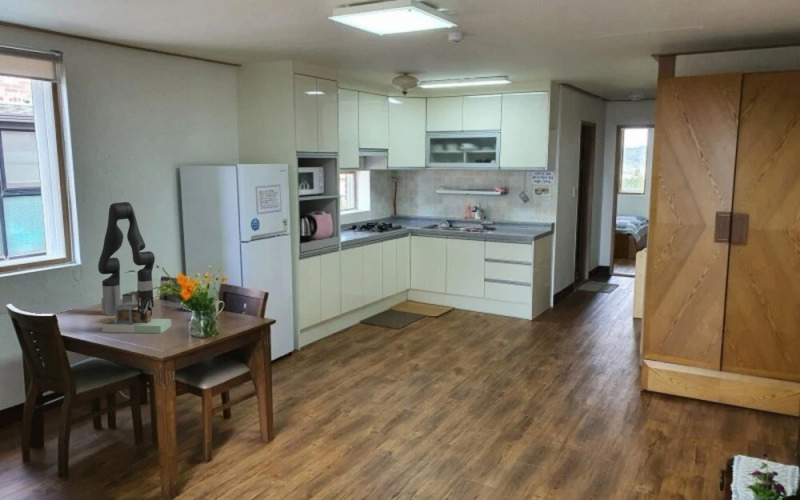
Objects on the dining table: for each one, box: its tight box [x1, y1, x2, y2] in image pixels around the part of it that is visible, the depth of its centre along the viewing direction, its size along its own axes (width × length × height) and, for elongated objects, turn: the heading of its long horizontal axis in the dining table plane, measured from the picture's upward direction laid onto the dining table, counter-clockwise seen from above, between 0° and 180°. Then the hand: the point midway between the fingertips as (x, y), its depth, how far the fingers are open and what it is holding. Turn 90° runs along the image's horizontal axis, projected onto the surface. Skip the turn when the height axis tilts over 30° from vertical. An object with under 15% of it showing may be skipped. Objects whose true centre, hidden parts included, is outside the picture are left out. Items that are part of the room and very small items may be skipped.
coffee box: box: [121, 291, 141, 310], centre depth 328 cm, size 9×6×16 cm
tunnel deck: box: [101, 302, 172, 334], centre depth 312 cm, size 31×14×13 cm, turn 90°
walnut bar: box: [118, 309, 152, 323], centre depth 312 cm, size 16×4×6 cm, turn 90°
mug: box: [215, 297, 225, 317], centre depth 334 cm, size 11×10×12 cm
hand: (146, 318), depth 312 cm, fingers open, 8 cm apart
